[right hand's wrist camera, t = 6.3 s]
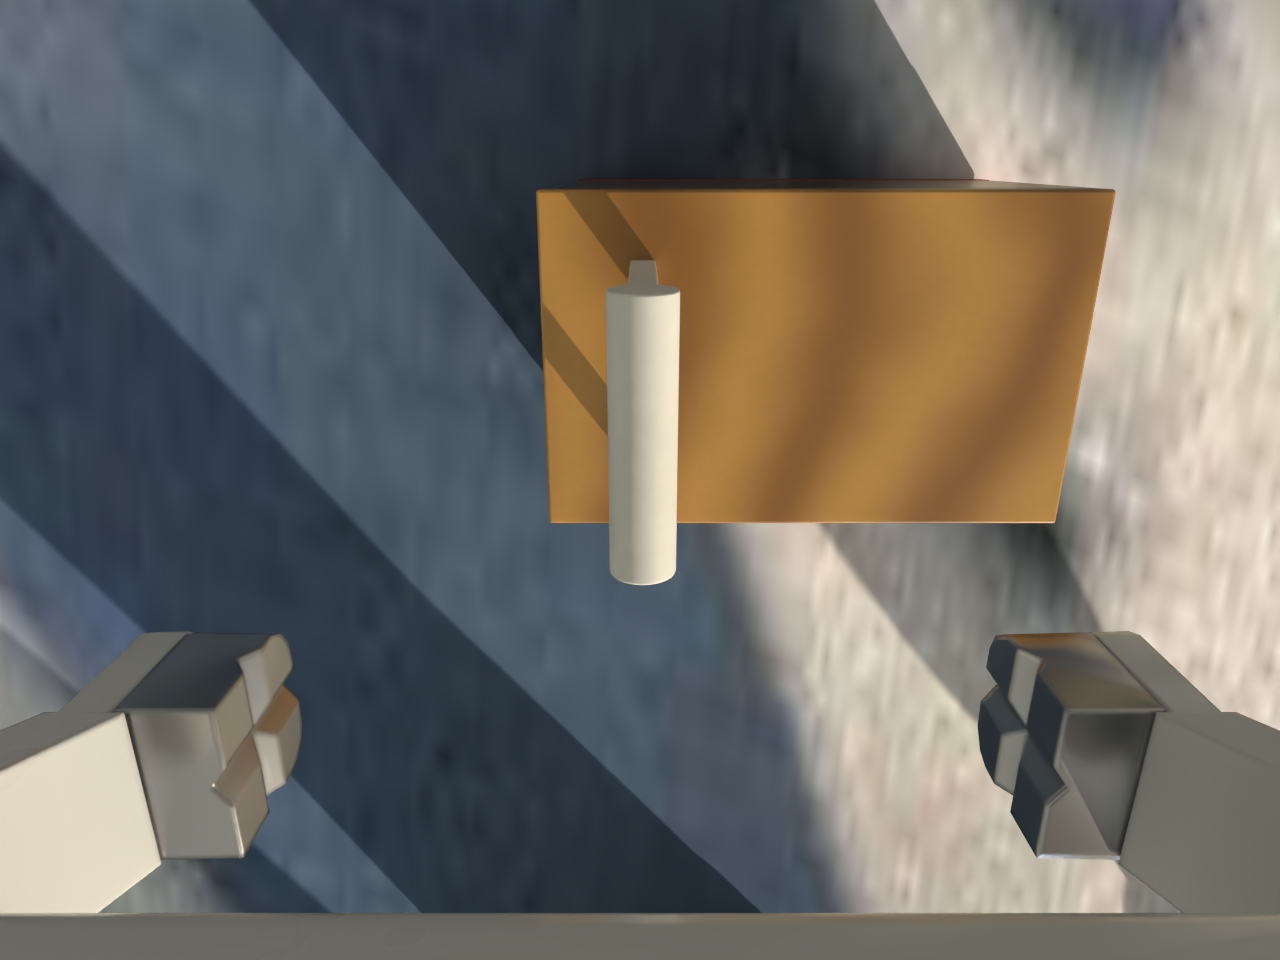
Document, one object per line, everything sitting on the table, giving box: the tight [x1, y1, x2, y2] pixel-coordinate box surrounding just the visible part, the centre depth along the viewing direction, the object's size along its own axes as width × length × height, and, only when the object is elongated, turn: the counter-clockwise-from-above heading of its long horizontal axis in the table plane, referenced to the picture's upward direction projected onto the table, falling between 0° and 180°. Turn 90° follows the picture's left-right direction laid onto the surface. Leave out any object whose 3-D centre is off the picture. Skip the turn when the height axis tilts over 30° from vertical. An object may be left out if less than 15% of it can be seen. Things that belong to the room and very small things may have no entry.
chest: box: [562, 179, 1086, 189], centre depth 30 cm, size 15×10×9 cm, turn 90°
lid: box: [536, 188, 1115, 585], centre depth 22 cm, size 16×10×8 cm, turn 90°
